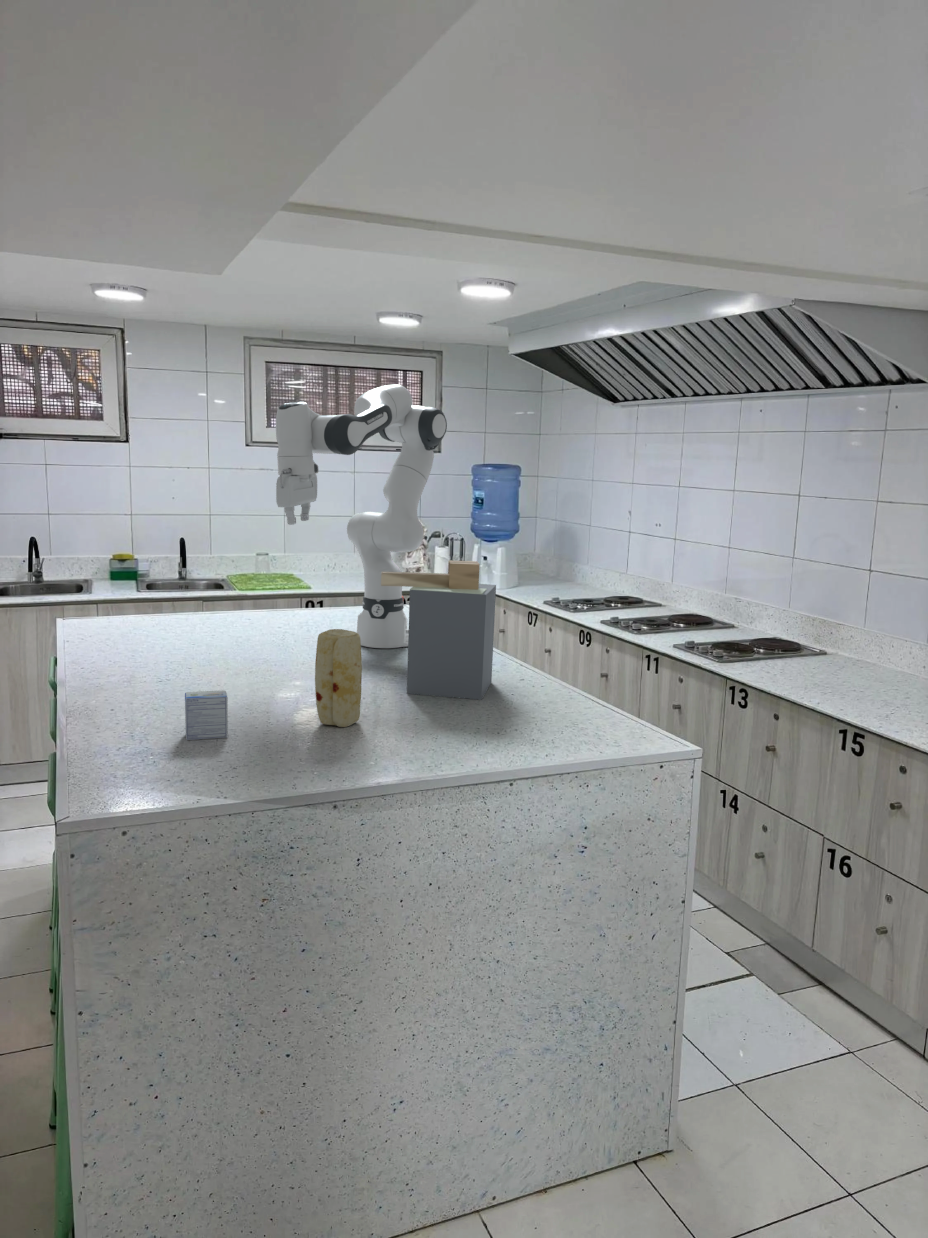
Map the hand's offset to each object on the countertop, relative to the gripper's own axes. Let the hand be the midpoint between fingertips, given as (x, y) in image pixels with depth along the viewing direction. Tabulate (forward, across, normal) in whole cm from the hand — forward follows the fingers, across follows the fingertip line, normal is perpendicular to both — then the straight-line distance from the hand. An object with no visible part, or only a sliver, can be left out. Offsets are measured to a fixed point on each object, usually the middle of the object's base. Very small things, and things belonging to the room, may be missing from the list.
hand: (298, 522), depth 225 cm
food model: (+37, -47, -24) cm, 65 cm away
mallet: (+14, -12, -37) cm, 41 cm away
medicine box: (+36, -62, -2) cm, 72 cm away
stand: (+39, -11, -41) cm, 58 cm away
